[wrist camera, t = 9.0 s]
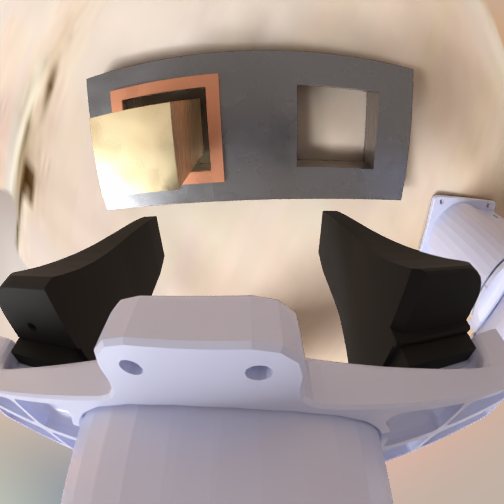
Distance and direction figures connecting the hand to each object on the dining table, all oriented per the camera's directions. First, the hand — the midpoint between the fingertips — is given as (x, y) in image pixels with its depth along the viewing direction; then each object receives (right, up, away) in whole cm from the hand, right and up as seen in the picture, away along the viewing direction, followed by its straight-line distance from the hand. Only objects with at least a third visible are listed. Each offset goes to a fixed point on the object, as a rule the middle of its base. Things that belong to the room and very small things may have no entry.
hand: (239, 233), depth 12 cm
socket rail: (+1, +8, +6) cm, 10 cm away
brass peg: (-5, +8, +6) cm, 11 cm away
